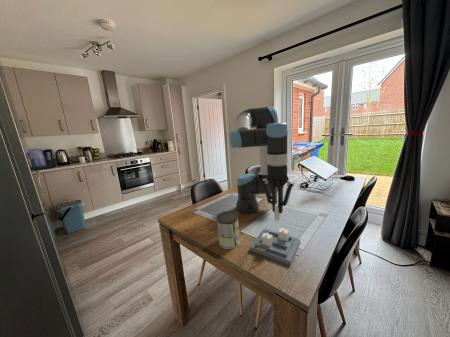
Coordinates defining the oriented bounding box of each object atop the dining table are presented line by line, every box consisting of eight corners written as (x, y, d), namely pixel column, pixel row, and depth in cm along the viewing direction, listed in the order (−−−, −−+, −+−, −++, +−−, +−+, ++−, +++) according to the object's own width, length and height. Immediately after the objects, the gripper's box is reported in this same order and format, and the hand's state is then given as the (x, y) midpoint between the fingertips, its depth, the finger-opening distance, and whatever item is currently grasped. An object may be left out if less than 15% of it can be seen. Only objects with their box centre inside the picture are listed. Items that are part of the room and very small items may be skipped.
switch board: (249, 250, 82) (249, 244, 81) (263, 232, 95) (263, 226, 94) (290, 265, 72) (290, 258, 71) (300, 242, 85) (300, 236, 84)
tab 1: (261, 245, 82) (261, 234, 80) (264, 242, 84) (264, 231, 82) (270, 248, 79) (270, 237, 78) (272, 244, 82) (272, 233, 80)
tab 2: (278, 240, 84) (278, 229, 83) (280, 237, 86) (280, 226, 85) (287, 243, 82) (287, 232, 80) (289, 239, 84) (289, 228, 83)
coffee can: (218, 237, 94) (216, 212, 91) (238, 235, 94) (236, 210, 91) (218, 250, 84) (216, 223, 81) (241, 248, 84) (239, 221, 81)
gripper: (257, 165, 71) (259, 219, 76) (291, 167, 63) (291, 227, 69) (264, 161, 77) (266, 212, 82) (297, 163, 69) (296, 218, 75)
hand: (277, 219), depth 76 cm, fingers closed
